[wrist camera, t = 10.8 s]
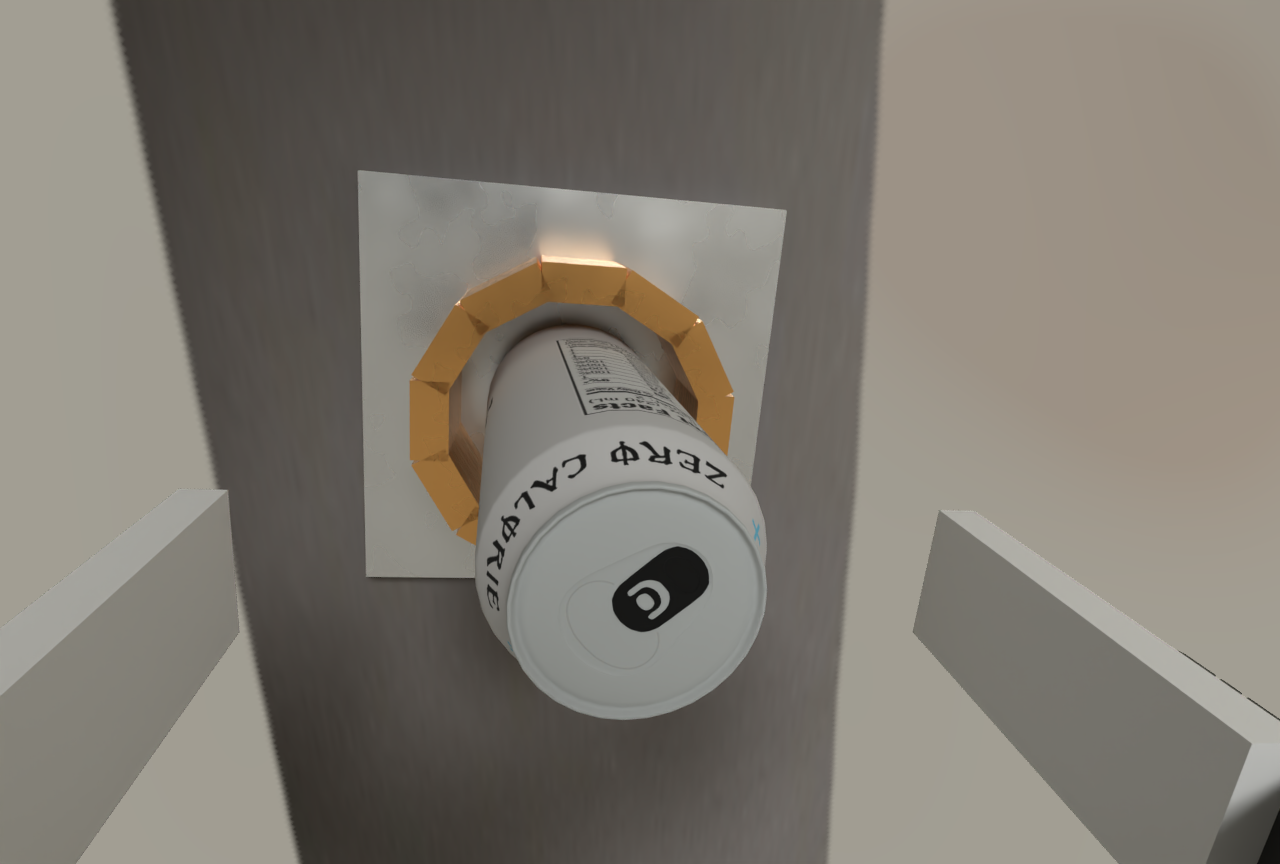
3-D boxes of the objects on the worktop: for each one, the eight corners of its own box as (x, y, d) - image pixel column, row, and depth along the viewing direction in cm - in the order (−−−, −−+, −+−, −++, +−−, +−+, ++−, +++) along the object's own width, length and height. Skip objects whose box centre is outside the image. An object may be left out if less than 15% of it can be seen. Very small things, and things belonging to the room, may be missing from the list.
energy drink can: (453, 389, 26) (395, 600, 12) (583, 286, 26) (677, 380, 12) (557, 504, 28) (610, 799, 14) (678, 410, 28) (855, 616, 14)
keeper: (365, 172, 25) (324, 160, 20) (776, 210, 28) (828, 208, 23) (372, 562, 29) (339, 632, 24) (730, 567, 32) (766, 632, 27)
